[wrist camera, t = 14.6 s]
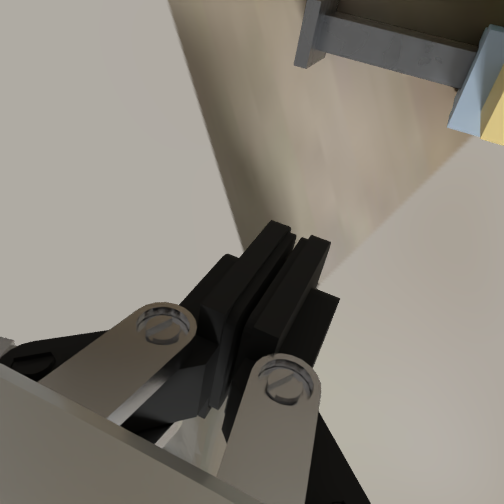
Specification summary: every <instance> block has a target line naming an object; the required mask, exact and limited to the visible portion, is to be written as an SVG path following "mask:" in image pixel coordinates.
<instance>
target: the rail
mask: <svg viewBox="0 0 504 504" xmlns="http://www.w3.org/2000/svg"><path fill="white" fill-rule="evenodd" d="M338 2H339V0H307V3H306V8H305V13H304V17H303V22H302V27H301V32H300V37H299V42H298V46H297V51H296V56H295V61H294V65H295V66H298V67H302V68H305V69H307V68H308V67H310V66H312V65H313V64H315V63H316V62H318V61H320V60H321V59H323V58H324V57H325V55H326V53H330V54H333V55H337V56H341V57H345V58H348V59H352V60H356V61H359V62H363V63H367V64H370V65H374V66H378V67H381V68H385V69H389V70H392V71H396V72H400V73H403V74H407V75H411V76H414V77H418V78H422V79H426V80H429V81H433V82H437V83H440V84H444V85H448V86H451V87H455V88H459V89H461V88H462V86H463V84H464V81H465V79H466V77H467V74H468V72H469V70H470V68H471V65H472V63H473V61H474V59H475V56H476V54H477V52H478V50H479V46H475V45H471V44H467V43H463V42H459V41H455V40H451V39H446V38H442V37H438V36H434V35H430V34H426V33H422V32H418V31H414V30H410V29H406V28H402V27H398V26H394V25H390V24H386V23H382V22H378V21H374V20H370V19H366V18H361V17H357V16H353V15H349V14H345V13H341V12H337V11H336V10H337V6H338Z"/></svg>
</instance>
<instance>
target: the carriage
mask: <svg viewBox="0 0 504 504" xmlns="http://www.w3.org/2000/svg"><path fill="white" fill-rule="evenodd" d="M447 128H451V129H454V130H458V131H461V132H464V133H468V134H471V135H475V136H478V137H480V139H483V140H486V141H489V142H493V143H496V144H500V145H503V146H504V27H501V26H497V25H493V24H490V25H489V27H486V28H485V30H484V32H483V35H482V37H481V39H480V42H479V50H478V52H477V54H476V56H475V59H474V61H473V63H472V65H471V68H470V70H469V72H468V74H467V77H466V79H465V81H464V84H463V86H462V88H461V89H459V90H458V92H457V94H456V96H455V99H454V104H453V108H452V111H451V113H450V115H449V120H448V125H447Z"/></svg>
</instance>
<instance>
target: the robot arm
mask: <svg viewBox="0 0 504 504" xmlns="http://www.w3.org/2000/svg"><path fill="white" fill-rule="evenodd" d="M290 232H291V227H289V226H286V225H283V224H281V223H278V222H275V221H273V220H271V221H270V222H269V223H268V224H267V226H266V227H265V228H264V229H263V230H262V232H261V233H260V234H259V235H258V236H257V238H256V239H255V240H254V241H253V242H252V243H251V245H250V246H249V247H248V248H247V249H246V251H245V252H244V253H243V254H242V255H241V257H240V258H237V257H235V256H232V255H230V254H225V255H224V256H223V257H222V258H221V259H220V260H219V261H218V262H217V264H216V265H215V266H214V267H213V268H212V269H211V270H210V271H209V272H208V274H207V275H206V276H205V277H204V278H203V279H202V280H201V281H200V282H199V283H198V285H197V286H196V287H195V288H194V289H193V290H192V291H191V292H190V293H189V294H188V296H187V297H186V298H185V299H184V300H183V301H182V302H181V303H180V304H179V305H177V304H172V303H167V302H161V303H160V302H157V303H152V304H148V305H145V306H143V307H141V308H139V309H138V310H137V311H135V312H133V313H132V314H131V315H129V316H128V317H127V318H125V319H124V320H122V321H121V322H120V323H119V324H117V325H116V326H114V327H113V328H111V329H110V330H107V331H100V332H94V333H87V334H79V335H73V336H66V337H59V338H52V339H46V340H39V341H33V342H29V343H25V344H21V345H19V346H15V343H14V340H11V339H7V338H3V337H0V504H371V503H370V501H369V500H368V498H367V496H366V494H365V492H364V491H363V489H362V487H361V485H360V484H359V482H358V480H357V478H356V477H355V475H354V473H353V471H352V469H351V468H350V466H349V464H348V462H347V461H346V459H345V457H344V455H343V454H342V452H341V450H340V448H339V446H338V445H337V443H336V441H335V439H334V438H333V436H332V434H331V432H330V431H329V429H328V427H327V425H326V423H325V422H324V420H323V418H322V416H321V415H320V413H319V404H320V397H321V383H320V380H319V378H318V375H317V374H316V372H315V371H314V370H313V366H314V364H315V361H316V359H317V356H318V354H319V351H320V349H321V346H322V344H323V341H324V339H325V336H326V334H327V331H328V329H329V326H330V324H331V321H332V318H333V316H334V313H335V310H336V308H337V305H338V303H339V300H340V298H338V297H335V296H333V295H330V294H328V293H325V292H323V291H320V290H318V289H317V288H316V286H317V283H318V280H319V277H320V274H321V272H322V269H323V266H324V263H325V260H326V257H327V254H328V251H329V248H330V244H331V242H329V241H327V240H324V239H321V238H319V237H316V236H313V235H311V236H310V237H309V239H306V238H303V237H302V238H301V239H300V240H299V242H298V243H297V245H296V246H295V248H294V249H293V247H294V244H295V240H296V235H295V234H292V233H290Z"/></svg>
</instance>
